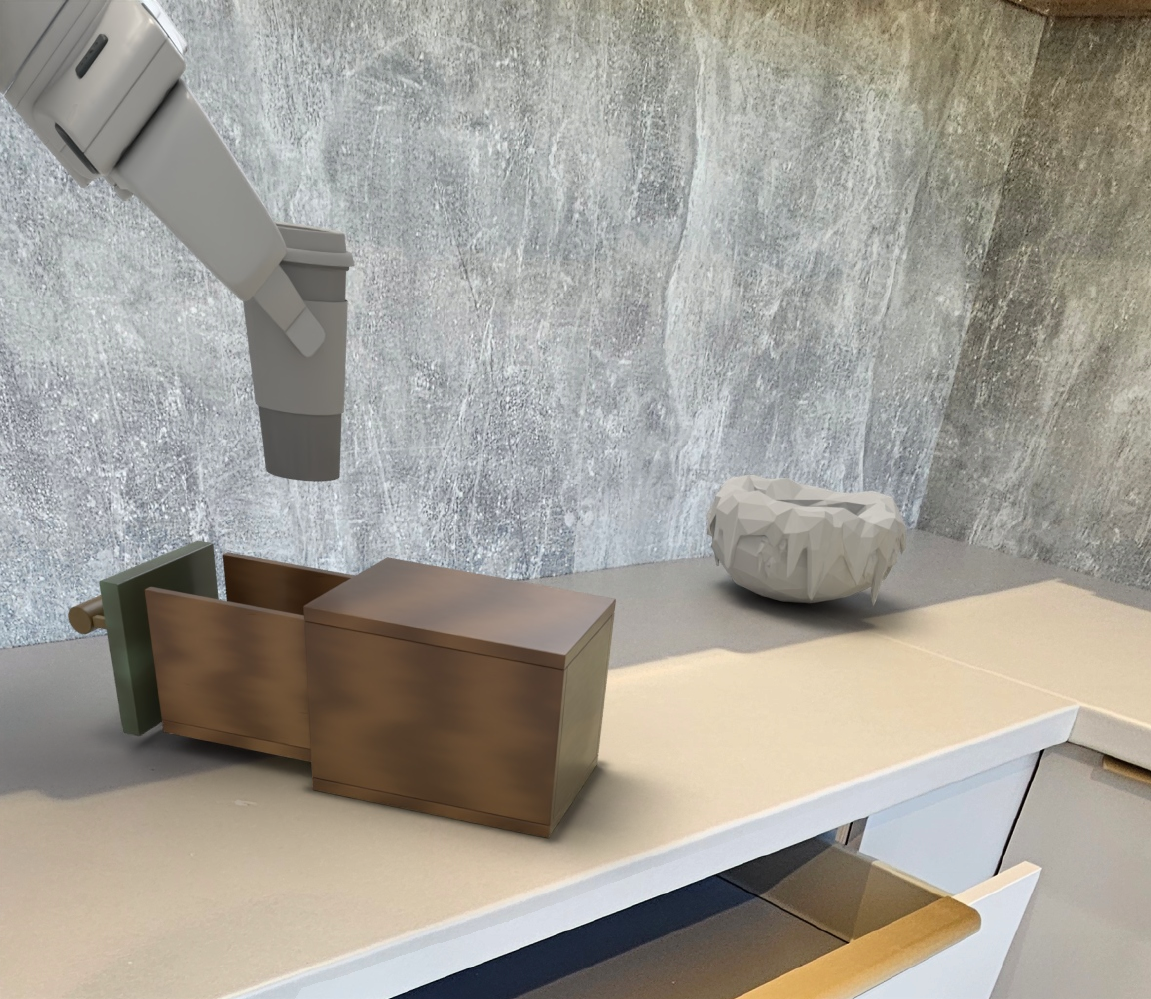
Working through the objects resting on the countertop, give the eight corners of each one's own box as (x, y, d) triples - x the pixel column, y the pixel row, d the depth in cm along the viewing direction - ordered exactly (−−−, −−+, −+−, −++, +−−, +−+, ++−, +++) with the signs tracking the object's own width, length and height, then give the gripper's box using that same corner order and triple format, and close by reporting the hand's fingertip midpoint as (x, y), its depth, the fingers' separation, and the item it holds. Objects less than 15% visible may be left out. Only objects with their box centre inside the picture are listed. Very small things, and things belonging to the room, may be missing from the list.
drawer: (61, 720, 75) (31, 568, 69) (156, 668, 84) (138, 529, 78) (334, 776, 73) (328, 624, 67) (401, 716, 82) (402, 577, 76)
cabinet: (312, 790, 73) (302, 605, 66) (387, 723, 83) (386, 556, 76) (548, 838, 72) (565, 654, 64) (597, 764, 81) (616, 598, 74)
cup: (316, 460, 78) (307, 223, 70) (379, 482, 75) (378, 237, 67) (225, 464, 74) (204, 213, 65) (288, 487, 70) (274, 227, 62)
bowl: (679, 605, 115) (697, 487, 108) (706, 562, 130) (724, 455, 123) (886, 642, 113) (917, 524, 106) (889, 593, 128) (917, 487, 121)
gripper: (66, 133, 68) (250, 356, 77) (73, 140, 54) (296, 411, 64) (135, 37, 66) (315, 277, 76) (160, 20, 52) (376, 316, 62)
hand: (307, 339), depth 70 cm, fingers closed on cup, 6 cm apart
